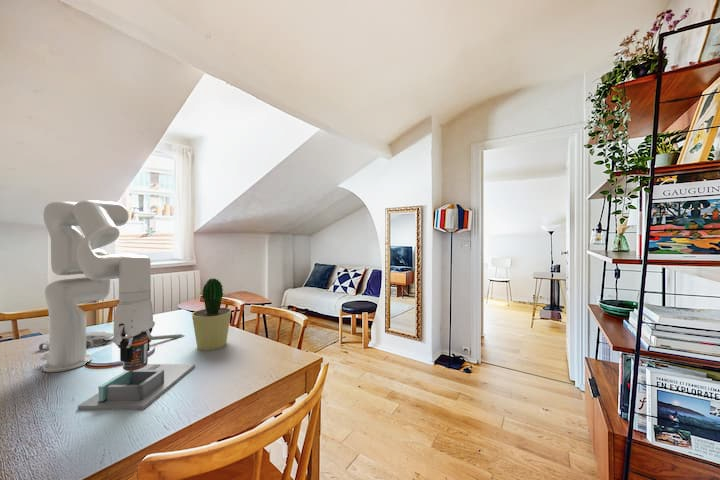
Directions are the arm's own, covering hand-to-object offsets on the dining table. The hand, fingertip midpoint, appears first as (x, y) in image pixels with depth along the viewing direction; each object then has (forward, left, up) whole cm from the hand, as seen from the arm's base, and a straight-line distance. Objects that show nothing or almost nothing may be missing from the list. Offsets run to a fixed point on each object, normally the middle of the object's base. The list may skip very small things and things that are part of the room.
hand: (135, 355), depth 86 cm
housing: (-1, +5, -12) cm, 13 cm away
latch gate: (-5, +1, -10) cm, 12 cm away
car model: (-53, +40, -13) cm, 68 cm away
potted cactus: (+4, +39, -12) cm, 41 cm away
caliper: (-21, +42, -12) cm, 49 cm away
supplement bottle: (0, 0, -4) cm, 4 cm away
